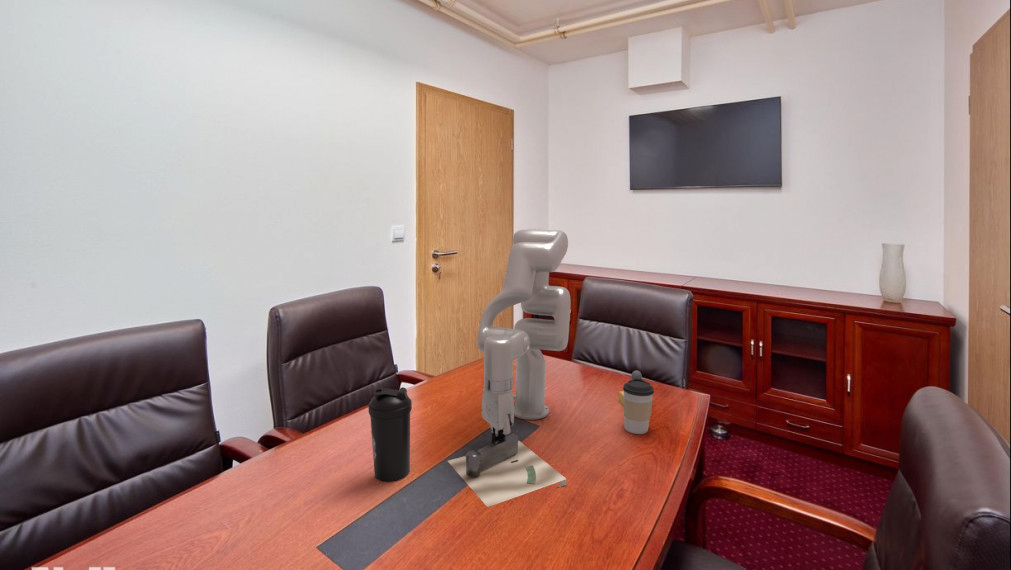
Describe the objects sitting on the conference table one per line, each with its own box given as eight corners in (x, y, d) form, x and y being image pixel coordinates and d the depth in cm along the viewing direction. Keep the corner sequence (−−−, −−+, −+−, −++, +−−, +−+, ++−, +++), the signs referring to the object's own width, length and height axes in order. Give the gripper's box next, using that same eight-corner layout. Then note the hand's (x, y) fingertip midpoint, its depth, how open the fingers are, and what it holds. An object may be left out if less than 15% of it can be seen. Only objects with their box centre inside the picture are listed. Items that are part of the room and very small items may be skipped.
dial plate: (447, 466, 123) (447, 460, 123) (518, 445, 134) (518, 439, 134) (487, 513, 105) (487, 506, 104) (566, 484, 116) (566, 478, 115)
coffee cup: (652, 437, 140) (656, 389, 137) (621, 434, 142) (624, 386, 139) (649, 423, 149) (652, 378, 146) (620, 420, 150) (622, 376, 148)
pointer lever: (472, 478, 114) (472, 459, 113) (462, 472, 117) (462, 453, 116) (520, 454, 126) (520, 436, 125) (511, 449, 128) (511, 431, 127)
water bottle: (375, 467, 122) (372, 382, 119) (415, 465, 123) (413, 382, 119) (367, 490, 112) (363, 399, 109) (410, 488, 113) (408, 398, 109)
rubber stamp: (625, 407, 161) (626, 374, 159) (618, 401, 166) (620, 368, 164) (652, 406, 162) (654, 372, 160) (644, 399, 168) (646, 367, 166)
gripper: (472, 376, 128) (473, 438, 131) (500, 395, 115) (499, 464, 119) (497, 371, 132) (497, 431, 135) (525, 389, 119) (525, 456, 122)
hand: (498, 446), depth 127 cm, fingers closed
